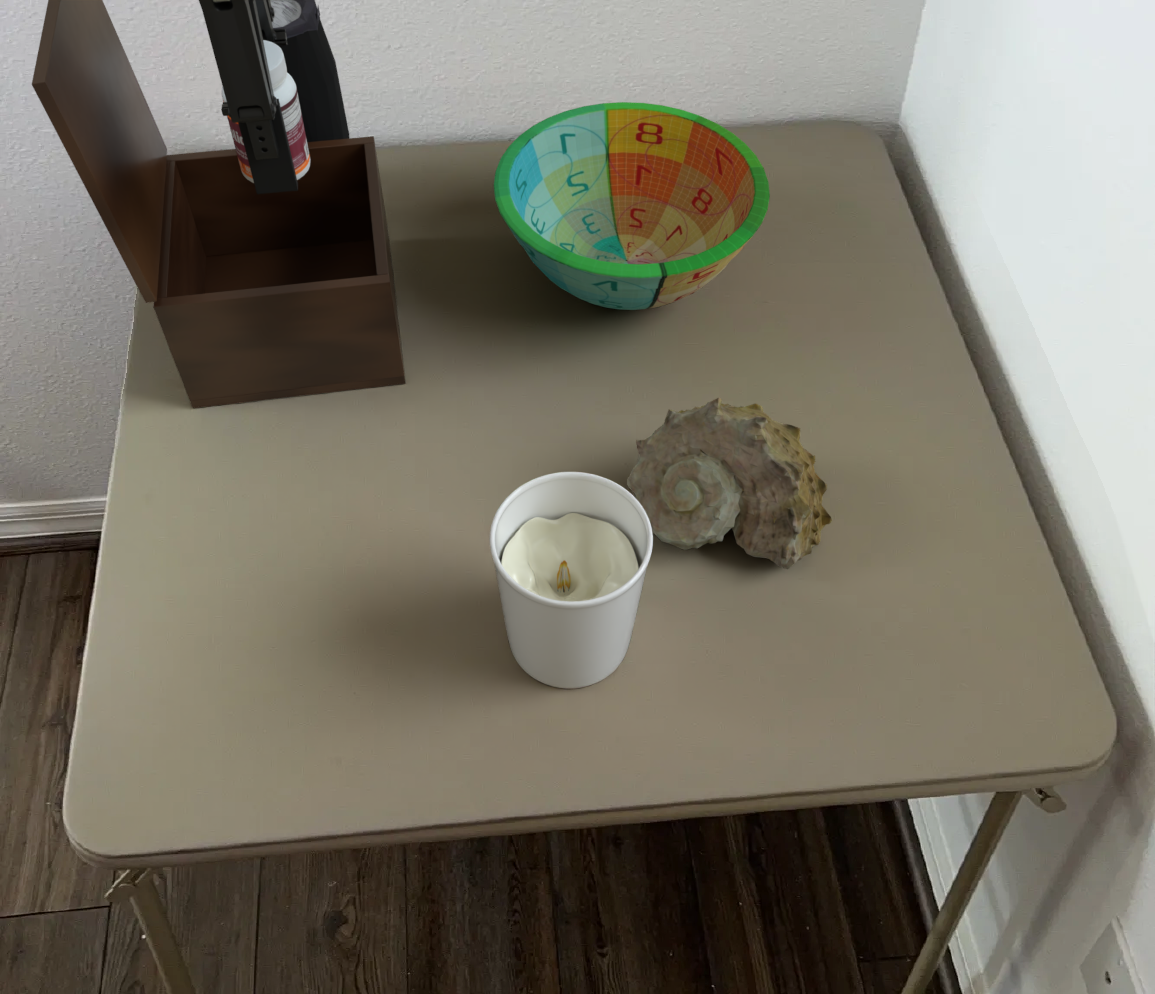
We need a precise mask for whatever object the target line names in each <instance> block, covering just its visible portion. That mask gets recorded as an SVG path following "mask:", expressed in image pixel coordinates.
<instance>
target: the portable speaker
mask: <svg viewBox="0 0 1155 994" xmlns="http://www.w3.org/2000/svg"><path fill="white" fill-rule="evenodd" d="M270 2H271V6H272V8H274V13H275V16H274V18H273V20H274V21H273V22H272V25H273V29H283V28H285V30H286V36H287V45H282V46H279V47H280V48H281V50H282V51H283V54H284V58H285V63H286V67H287V73H288V74H290V76H291V77H292V78H293V80H294V81H295V84H296V87H297V93H298V98H299V104H300V109H301V114H302V119H303V124H304V130H305V135H306V139H307V142H316V141H327V140H337V139H348V138H350V131H349V125H348V120H347V115H346V111H345V110H346V109H345V105H344V99H343V93H342V89H341V82H340V77H339V74H338V73H339V72H338V68H337V63H336V59H335V56H334V53H333V50H332V48H331V45H330V43H329V39H328V37H327V34H326V31H325V29H324V26H323V23H322V20H321V17H320V16H321V12H320V6H319V5H317V3H316V0H270Z"/></svg>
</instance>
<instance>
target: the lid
mask: <svg viewBox="0 0 1155 994" xmlns="http://www.w3.org/2000/svg"><path fill="white" fill-rule="evenodd" d="M44 14H45V15H44V21H43V25H42V30H41V35H40V40H39V45H38V50H37V55H36V61H35V66H34V70H33V76H32V80H31V86H32V88H33V90H34V92H35V94H36V96H37V97H38V99H39V102H40V104H41V106H42V107H43V110H44V111H45V114H46V115H47V117H48V119H49V121H50V123H51V125H52V127H53V128H54V130H55V132H56V134H57V136H58V138H59V140H60V142H61V143H62V144H61V145H62V147H63V148H64V149H65V151H66V153H67V155H68V157H69V159H70V162H71V163H72V165H73V166H74V169H75V170H76V173H77V174H78V176H79V179H80V180H81V182H82V184H83V186H84V188H85V190H86V191H87V194H88V195H89V197H90V200H91V201H92V203H93V206H94V207H95V209H96V211H97V213H98V215H99V216H100V219H101V221H102V222H103V224H104V226H105V229H106V230H107V232H108V233H109V236H110V237H111V240H112V241H113V244H114V246H115V248H116V250H117V251H118V253H119V255H120V257H121V259H122V261H123V262H124V264H125V266H126V268H127V270H128V272H129V275H130V276H131V278H132V281H133V282H134V284H135V285H136V287H137V290H138V292H139V293H140V295H141V297H142V299H143V301H144V302H145V304H149V303H154V302H155V301H157V288H158V274H159V260H160V245H161V231H162V217H163V203H164V188H165V174H166V160H167V155H168V148H167V146H166V143H165V141H164V138H163V136H162V134H161V131H160V129H159V127H158V125H157V123H156V120H155V117H154V116H153V113H152V111H151V109H150V106H149V104H148V102H147V99H146V97H145V94H144V93H143V90H142V88H141V85H140V83H139V81H138V79H137V76H136V75H135V71H134V69H133V67H132V65H131V62H130V60H129V58H128V55H127V53H126V52H125V48H124V46H123V44H122V41H121V40H120V38H119V35H118V33H117V31H116V28H115V25H114V23H113V21H112V19H111V17H110V14H109V12H108V10H107V7H106V5H105V3H104V0H48V1H47V4H46V9H45V13H44Z"/></svg>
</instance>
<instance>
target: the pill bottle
mask: <svg viewBox="0 0 1155 994" xmlns="http://www.w3.org/2000/svg"><path fill="white" fill-rule="evenodd" d="M263 42H264V47H265V52H266V57H267V62H268V67H269V73H270V78H271V83H272V88H273V93H274V96H275V97H276V99H279V103H280V107H281V111H282V116H283V120H284V125H285V129H286V133H287V138H288V142H289V147H290V151H291V156H292V160H293V164H294V169H295V173H296V178H297V180H298V179H300V178H301V177H302V176H304V175H305V174H306V173H307V171H308V170H309V167H310V154H309V149H308V144H307V139H306V135H305V130H304V124H303V119H302V114H301V109H300V104H299V98H298V93H297V87H296V84H295V81H294V80H293V78H292V77H291V76H290V74H288V73H287V67H286V63H285V58H284V54H283V51H282V50H281V48H280V47H279V46H278V45H276V44H275V43H273V42H270V41H266V40H263ZM221 98H222V103H223V102H227V101H226V97H225V93H224V90H223V86H222V85H221ZM226 119H227V121H228V126H229V129H230V133H231V137H232V140H233V144H234V149H235V150H236V153H237V156H238V160H239V164H240V168H241V171H242V173H243V175H244V177H245V178H246V179H247V180H249V181H251V182H253V183H254V181H253V177H252V173H251V170H250V166H249V162H248V158H247V154H246V151H245V147H244V143H243V139H242V136H241V132H240V128H239V124H238V123H233V122H232V121H231V117H229V116H226Z"/></svg>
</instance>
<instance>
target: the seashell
mask: <svg viewBox="0 0 1155 994" xmlns="http://www.w3.org/2000/svg"><path fill="white" fill-rule="evenodd" d="M722 402H723V399H722V398H721V397H716V398H715V399H712V400H711V401H708V402H707V403H705V404H704V405H701V406H694V407H693V408H691V409H685V410H683V409H681V410H679V411H677V410H675V409H668V410H667V412H666V416H665V419H664V422H663V423H662V424H661V426H659V427H658V428H657V429H655V430H654V431H653V433H652V434H651V435H650V436H648V437H646V438H645V439H635V446H636V450H637V453H638V458H637V460H636V464H635V466H634V467H633V468H632V470H631V472H630V474H629V475H628V477H627V482H626V485H627V487H628V488H629V489H630V490H631V491H632V493H634V497H635V498H636V499H637V500H638V501H639V503H640V504H641V505H642V507H643V508H644V510H645V512H646V514H647V516H648V518H649V521H650V524H651V528H652V534H653V535H655V536H656V537H657V539H659V540H660V542H662V543H667V544H670V545H672V546H674V547H677V548H678V549H681V550H683V551H687V550H691V549H698V548H701V547H702V546H704V545H706V544H709V545H710V544H716V543H717V542H723V540H724V536H725V535H726V534H727V533H728V532H729V531H730V530H732V532H733V536H734V539H735V542H736V544H737V545H738V546H739V547H741V548H742V549H743V550H744V551H745V554H747V555H749V556H752V557H754V558H763V559H768V560H769V561H771V562H773V563H774V564H775V565H776V566H778V567H780V568H781V569H784V570H790V568H792V567H793V566H794V565H795V563H797V562H798V561H800V560H802V558H804V557H805V556H808V555H811V554H812V550H813V547H814V546H819V544H820V543H821V540H822V537H821V536H822V530H823V529H824V528H825V527H826V525H830V524H831V523H832V522H833V519H832V516H831V515H830V514H829V513H828V511H827V510H826V509H825V508H824V506H823V498H824V495H825V493H826V492H827V490H828V484H827V483H825V481H824V480H823V479H822V478H821V477H820V476H819V475H818V474H817V472H816V471H815V466H814V465H815V463H816V462H817V461H816V455H813V454H812V453H811V452H809V451H808V450H807V449H806V448H805V447H803V445H802V443H801V440H800V439H801V428H800V427H798V426H795V425H792V424H789V423H785V422H780V421H777V420H774V419H772V418H771V417H770V416H769V415H768V414H767V413H766V412H764V408H763V406H762V405H761V404H758V403H753V404H748V405H745V406H735V405H731V404H729V403H722Z"/></svg>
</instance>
